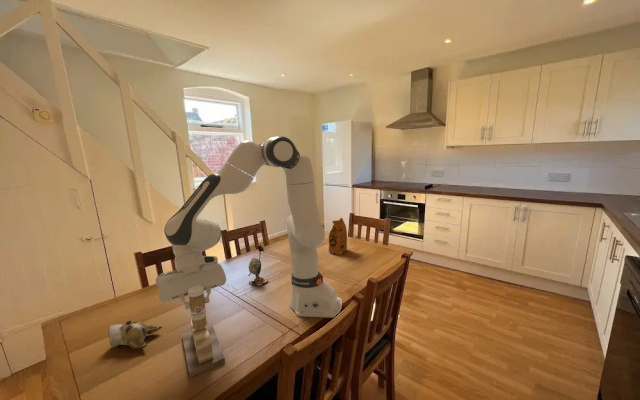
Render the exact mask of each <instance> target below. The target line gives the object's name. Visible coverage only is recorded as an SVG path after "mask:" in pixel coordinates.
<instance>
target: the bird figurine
mask: <svg viewBox="0 0 640 400" xmlns="http://www.w3.org/2000/svg"><path fill="white" fill-rule="evenodd" d="M256 247H257V249H258V252H259V255H261V253H262V252H263V253H265V251H264V250H265V247H263V245H262V244H258V245H257V246H256ZM248 270H249V274H248V277H250V275H251V274H252V275H255V278H254V279H253V280H254V281H253V280H251V281H250V282H249V283H248V284H249V285H253V286H255V285H257V286H262V285H263V284H265V283H268V282H269V280H268V279H267V280H266V279H265V278H264V277H262V276H260V273H261V271H262V261H261V256H259V259H258V258H255V257H253V258H251V260H250V262H249V264H248Z"/></svg>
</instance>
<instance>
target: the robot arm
mask: <svg viewBox="0 0 640 400" xmlns="http://www.w3.org/2000/svg"><path fill="white" fill-rule="evenodd" d="M264 165H266V166H269V167H274V168H282V170H283V171H284V174H285V181H286V182H285V183H286V193H287V194H286V195H287V204H288V207H289V210H290V213H291V214H290V215H288V217H287V218H286V221H285V227H286V231H287V238H288V243H289V249H290V253H291V270H292V271H291V287H292V289H291V290H292V291H291V297H290V301H289V307H290V308H291V310H292V311H294V312H295V313H294V314H295V315H296V316H297V317H303V318H305V317H307V318H331V319H332V318H335V317H337V316H338V315H339V313H340V312H341V310H342V307H343V301H342V298H341V297H339V296H338V295H337V290H335V289H336V288H334V287H332V286H331V285H330V283H329V284H328V283H327V282H326V281H325V280H324V276H325V275H324V272H323V273H320V271H319V254H318V252H317V249H316V248H317V247H319V246H321V245H322V244H323V243H324V241H325V237H326V231H325V229H324V226H323V225H322V222H321V221H322V220H321V217H320V214H319V208H318V207H317V206H318V205H317V200H316V189H315V176H314V171H313V166H312V162H311V159H310V157H309V156H307V155H305V154H304V153H303V154H302V153H300V152H299V151H298V149H297V147H296V145H295V144H294V142H293V141H292V140H291V138H288V137H286V136H284V135H279V136H272V137H270V138H268V139H266V140H265V141H262V142H261V143H259V144H258V143H256V142H254V141H252V140H242V141H241V142H239V144H237V146H236V147H235V148H234V149H233V151H232V152H231V153H230V155H229V156H228V158H227V160H226V161H225V163H224V164H223V166H222V167H221V168H220V169H219V170H217V171H216V172H214V173H211V174H208V176H206V177H205V178H203V179H204V180H202V182H201V183H200V184H199V185H198V186H197V187H196V188H195V190H194V191H193V193H192V194H191V195H190V196H189V198H188V199H187V200H186V201H185V202H184V204H183V205H182V206H181V207H180V209H179V210H178V211H177V212H175V214H173V215H172V216H171V217H169V219H168V220H167V222H166V223H165V226H164V231H163V232H164V235H165V237H166V240H167V241H168V242H169V243H170V244H171V247H172V248H171V249H172V252H173V254H174V266H175V269H173V270H170V271H166V272H161V273H160V274H159V275H157V276H156V278H155V285H156V287H158V299H159V302H161V303H166V302H170V301H172V300H173V301H174V300H176V299H179V302H180V303H182V305H184V308H185V309H184V310H185V311H186V310H189V309H190V308H191V306H190V301H187V300H185V298H186V297H187V296H188V289H189V288H191V287H193V286H196V285H202V286H203V287H204V292H205V293H206V296H204V300H205V305H206V304H208V303H210V301H211V299H210V295H211V293H212V289H216V288H218V287H222V286H225V284H226V282H227V276H226V273H225V270H224V269H223V267H222V265H221V264H220V263H219V262H218V261H219V260H218V259H219V258H218V257H217V256H215V255H212V256H211V255H203V252H204V251H208V250H210V249H212V248H213V247H215V246H216V245H217V244H218V243H219V242H220V239H221V236H222V231H221V228H220V225H219V224H218V223H217V222H213V221H211V220H207V219H202V218H199V217H198V216H200V214H201V213H202V212H203V210H204V209H205V208H206V206H207V205H208V204H209V202H210V201H211V200H212V199H214V198H215V197H218V196H222V195H234V194H235V195H236V194H237V195H238V194H240V193H243V192H245V191H246V190H247V189H248V188H249V187H250V185H251V184H252V182H253V180H254V178H255V177H256V175H257V173H258V171H259V170H260V169H261V167H263V166H264ZM337 314H338V315H337ZM336 315H337V316H336Z"/></svg>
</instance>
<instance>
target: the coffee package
mask: <svg viewBox="0 0 640 400" xmlns="http://www.w3.org/2000/svg"><path fill="white" fill-rule="evenodd" d="M332 224H333V225H332V227H331V230H330V231H329V232H328V233H329V234H328V252H329V253H330V252H333V253H335V254H334V255H337V254H339V253H341V252H344V251H345V250H346V249H347V250H348V231H347V230H348V229H347V226H346V223H345V221H344V219H343V217H340V218H339V219H337V220H332ZM347 250H346V251H347ZM346 251H345V252H346ZM345 252H344V253H345ZM333 253H332V254H333ZM341 254H342V253H341Z"/></svg>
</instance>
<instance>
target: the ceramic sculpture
mask: <svg viewBox="0 0 640 400" xmlns="http://www.w3.org/2000/svg"><path fill="white" fill-rule="evenodd" d="M162 328H163V326H156V325H153V324H146V323H144V322H142V321H132V320H127V321H126V322H124V323H123V324H119V323H118V324H117V323H116V324H112V325H108V326H107V333H108V338H109V339H108V340H109V345H110V346H111V347H112V348H117V347H118V346H120V345H121V346H122V345H123V346H128V347H130V348H132V349H134V350H139V349H143V348H146V347H148V344H147V342H146V341H145V339H146V337H147V335H152V334H154V333H156V332H157V331H159V330H161V329H162Z"/></svg>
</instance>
